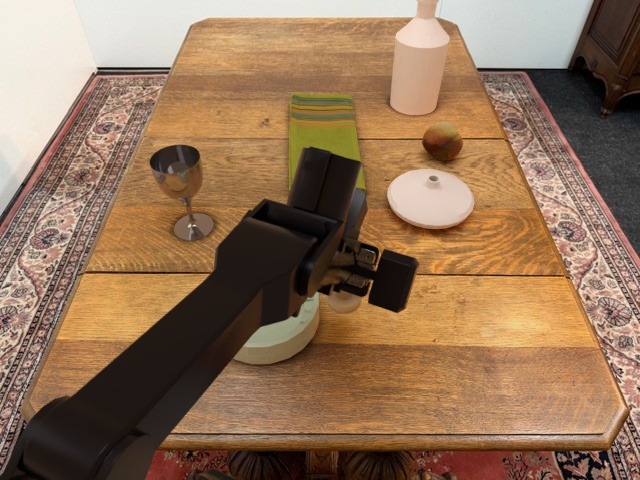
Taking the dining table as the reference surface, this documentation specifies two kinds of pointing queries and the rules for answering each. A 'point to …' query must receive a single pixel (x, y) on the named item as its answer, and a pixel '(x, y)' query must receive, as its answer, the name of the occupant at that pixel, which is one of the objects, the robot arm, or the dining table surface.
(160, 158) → the wine glass
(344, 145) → the dish towel
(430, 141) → the fruit
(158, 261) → the dining table surface
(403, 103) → the bottle
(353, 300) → the beige piece
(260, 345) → the bowl
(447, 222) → the flat round vase
